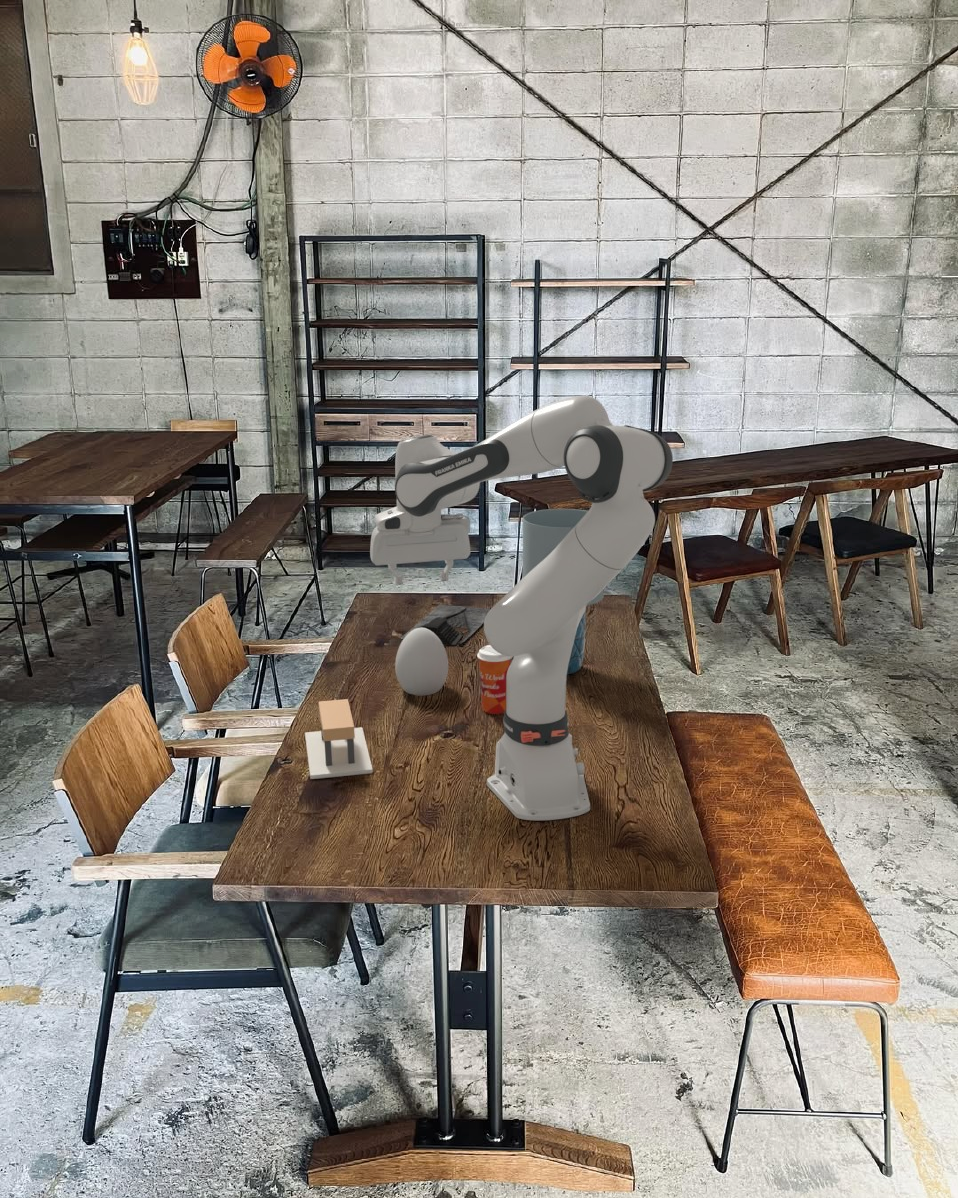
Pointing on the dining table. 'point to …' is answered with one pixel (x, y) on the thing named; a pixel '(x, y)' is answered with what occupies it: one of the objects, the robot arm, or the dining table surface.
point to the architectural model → (452, 622)
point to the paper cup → (493, 679)
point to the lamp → (539, 542)
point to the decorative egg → (421, 663)
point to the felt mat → (337, 756)
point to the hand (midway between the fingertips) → (421, 582)
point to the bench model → (336, 726)
